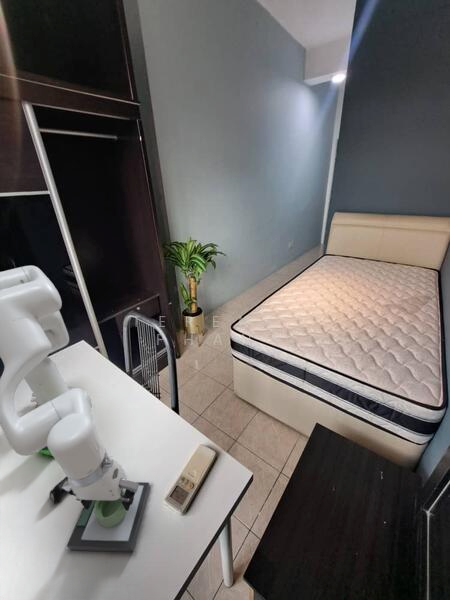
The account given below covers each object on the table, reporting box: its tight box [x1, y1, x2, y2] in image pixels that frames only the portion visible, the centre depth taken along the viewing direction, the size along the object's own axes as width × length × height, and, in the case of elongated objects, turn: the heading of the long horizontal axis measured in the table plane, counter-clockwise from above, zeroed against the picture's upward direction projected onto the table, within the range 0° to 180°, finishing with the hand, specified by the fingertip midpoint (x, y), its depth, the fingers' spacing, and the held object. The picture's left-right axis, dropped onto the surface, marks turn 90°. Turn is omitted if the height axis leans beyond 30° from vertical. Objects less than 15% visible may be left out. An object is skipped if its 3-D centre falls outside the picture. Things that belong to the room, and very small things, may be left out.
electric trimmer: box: [49, 476, 68, 505], centre depth 70 cm, size 4×16×3 cm, turn 142°
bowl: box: [94, 490, 127, 527], centre depth 60 cm, size 7×7×5 cm
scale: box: [66, 481, 151, 553], centre depth 62 cm, size 15×13×3 cm
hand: (110, 502), depth 60 cm, fingers open, 9 cm apart
